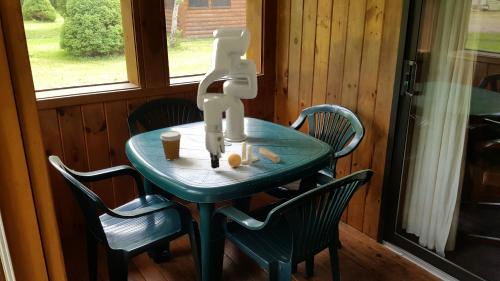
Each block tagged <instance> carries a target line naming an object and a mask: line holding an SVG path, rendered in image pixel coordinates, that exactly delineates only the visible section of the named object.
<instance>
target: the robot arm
mask: <svg viewBox="0 0 500 281" xmlns="http://www.w3.org/2000/svg"><path fill="white" fill-rule="evenodd" d="M212 34H213V35H212V37H213V40H214V41H213V44H212V45H213V46H212V51H211V52H212V54H211V61H210V69H209V70H208V72H207V73H206V74H205V75H204V76H203V77H202V78H201V81H200V82H199V84H198V89H197V96H196V97H197V98H196V104H197V108H198V109H199V110H200V111H203V121H204V122H203V124H204V132H205V133H204V135H205V136H204V137H205V138H204V142H205V149H206V150H207V152H208V153H209V157H210V168H212V169H218V168H220V160H221V159H222V157H223V156H222V154H223V155H224V154H225V153H226V147H225V146H226V143H225V141H226V142H231V143H232V142H233V143H238V142H245V141H246V140H248V135H247V134H245V107H244V103H243V102H242V100H241V99H254V98H256V97H257V95H258V78H257V77H258V75H257V73H258V72H257V66H256V63H255V60H252V59H250V58H249V59H247V58H245V59H244V58H241V57H244V56H245V55H246V53H247V51H248V48H249V46H250V44H251V41H252V40H251V39H252V38H251V37H252V36H251V32H250V30H249V28H245V27H243V28H242V27H240V28H239V27H221V28H220V27H219V28H216V29H215V30H214V31H213V33H212ZM224 77H227V78H228V79H227V80H226V81H224V82H223V86H222V89H223V93H216V92H214V93H213V92H211V93H210V92H207V89H208V87H209V86H210V85H212V83H214V82H215V81H218V80H219V79H222V78H224ZM223 112H225V127H226V128H224V127H223Z"/></svg>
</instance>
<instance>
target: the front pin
mask: <svg viewBox="0 0 500 281" xmlns="http://www.w3.org/2000/svg"><path fill="white" fill-rule="evenodd" d="M256 161H259V156H258V155H255V156H252V163H253V162H256ZM246 164H247V165H248V158H246V159H245V160H242V159H241V164H240V165H246Z"/></svg>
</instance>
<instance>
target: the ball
mask: <svg viewBox="0 0 500 281" xmlns="http://www.w3.org/2000/svg"><path fill="white" fill-rule="evenodd" d="M241 160H242V156H240V155H239V154H238V153H232V154H230V155H229V156H228V159H227V163H228V165H229V166H230V167H231V168H237V167H239V166H240V165H242V164H241Z"/></svg>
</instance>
